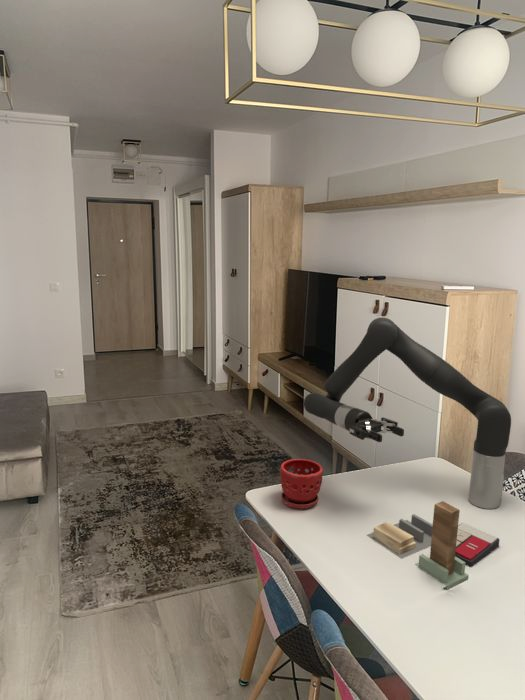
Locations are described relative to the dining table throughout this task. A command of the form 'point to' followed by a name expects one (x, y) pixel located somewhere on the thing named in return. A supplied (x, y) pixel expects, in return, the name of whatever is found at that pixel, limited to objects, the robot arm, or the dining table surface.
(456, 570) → the board holder
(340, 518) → the dining table surface
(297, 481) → the plant pot
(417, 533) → the rack
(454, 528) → the tall board
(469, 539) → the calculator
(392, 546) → the offcut stack
